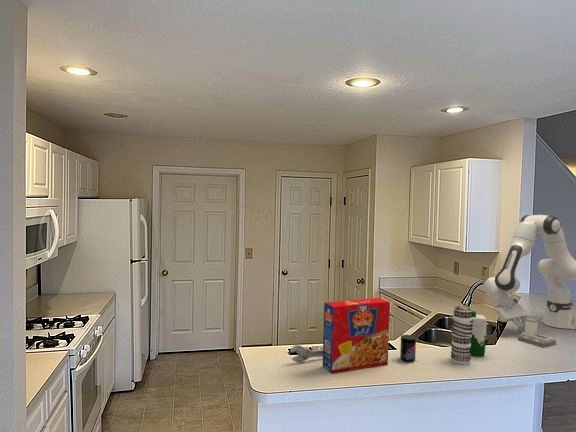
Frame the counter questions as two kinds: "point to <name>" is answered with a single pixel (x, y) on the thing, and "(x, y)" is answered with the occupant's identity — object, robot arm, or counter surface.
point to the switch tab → (531, 326)
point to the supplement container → (408, 348)
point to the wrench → (305, 353)
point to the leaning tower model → (461, 334)
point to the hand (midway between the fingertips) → (520, 326)
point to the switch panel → (537, 340)
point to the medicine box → (525, 321)
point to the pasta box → (355, 334)
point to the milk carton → (478, 335)
